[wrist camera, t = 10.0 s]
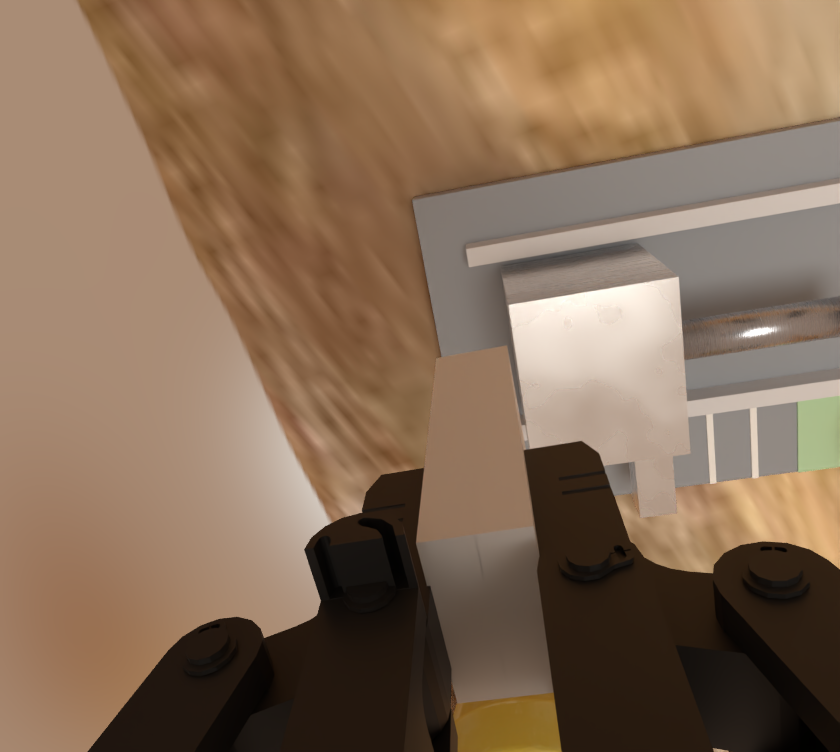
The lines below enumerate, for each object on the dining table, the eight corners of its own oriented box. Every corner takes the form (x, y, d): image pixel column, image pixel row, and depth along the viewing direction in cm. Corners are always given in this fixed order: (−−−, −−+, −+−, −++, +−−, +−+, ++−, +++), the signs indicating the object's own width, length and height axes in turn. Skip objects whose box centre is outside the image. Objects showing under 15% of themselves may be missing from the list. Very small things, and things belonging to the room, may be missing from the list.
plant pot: (463, 760, 45) (463, 929, 36) (408, 628, 42) (391, 778, 32) (630, 725, 43) (675, 894, 34) (586, 586, 40) (622, 730, 31)
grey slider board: (414, 196, 33) (398, 226, 25) (1197, 50, 29) (1458, 32, 21) (470, 502, 38) (472, 602, 31) (1138, 412, 35) (1330, 501, 27)
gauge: (500, 266, 32) (508, 305, 26) (830, 209, 31) (921, 236, 25) (534, 491, 36) (548, 570, 30) (829, 452, 35) (907, 527, 28)
